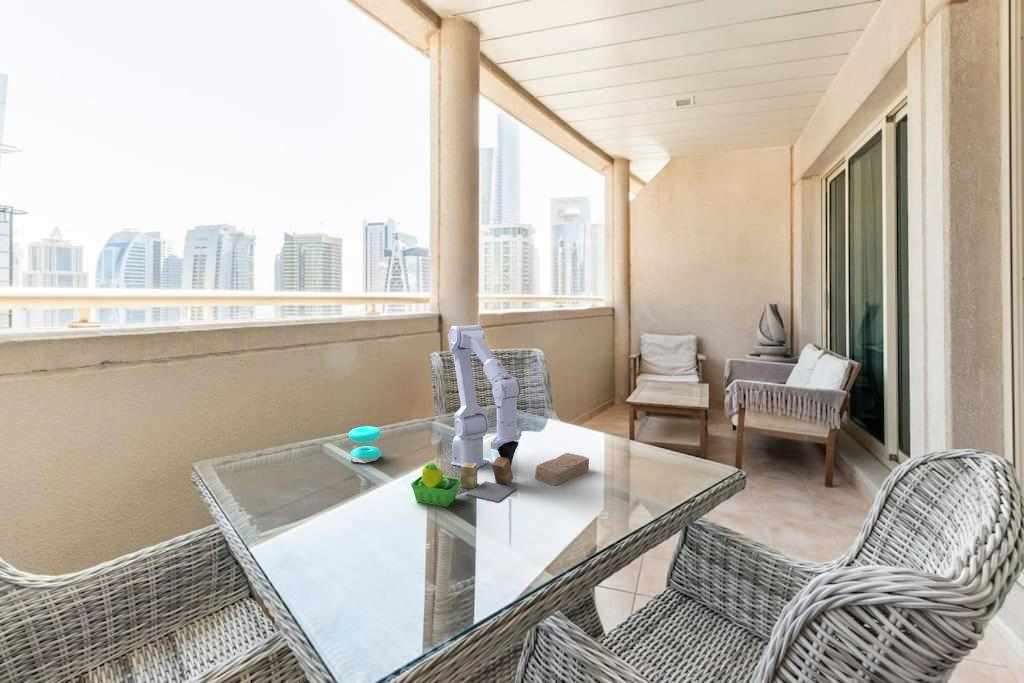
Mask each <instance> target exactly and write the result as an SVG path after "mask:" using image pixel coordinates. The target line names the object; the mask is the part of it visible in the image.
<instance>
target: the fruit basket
mask: <svg viewBox="0 0 1024 683" xmlns="http://www.w3.org/2000/svg"><path fill="white" fill-rule="evenodd" d="M421 472H422V474H421V476H419V477H417V479H415V480H414V481H412V482H411V483H410V486H411V488H412V490H413V494H414V497H415V501H416V502H417V501H418V502H417V503H424V504H428V503H432V505H434V504H435V506H442V507H448V506H449V505H450V504H451V503H453V501H454V500H456V497H457V493H458V490H459V485H461V479H460V478H459V479H458V478H453V477H445V476H444V472H443V470H442V469H441V468H440V467H438V466H436V464H435V463H434V462H428V463H426V464H424V466H423V468H422V470H421Z"/></svg>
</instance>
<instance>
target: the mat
mask: <svg viewBox="0 0 1024 683" xmlns="http://www.w3.org/2000/svg"><path fill="white" fill-rule="evenodd" d="M516 490H517V487H513V486H509V485H508V486H505V485H501V484H496V482H491V481H484V482H482V483H481V484H479V485H478V486H475V487H474V488H473V489H471V490H470V491H468V492H467V493H466V494H465V496H468V497H472V498H476V499H477V498H478V499H481V500H485V501H489V502H494V503H497V504H498V503H500V502H501V501H502V500H504V499H505V498H507V497H508V496H509V495H511V494H512V493H514V492H515V491H516Z"/></svg>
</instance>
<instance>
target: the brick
mask: <svg viewBox="0 0 1024 683" xmlns="http://www.w3.org/2000/svg"><path fill="white" fill-rule="evenodd" d="M589 465H590V458H588V457H586V456H584V455H580V454H574V453H570V452H567V453H563V454H561V455H559V456H557V457H555V458H553V459H549V460H546V461H544V462H542V463H539V464H537V465H535V472H534V473H535V474H534V479H535V480H536V481H538V482H540V483H541V482H542V483H545V484H546V485H549V486H552V487H557V486H560V485H562V484H563V483H565V482H569V481H570V480H573V479H575V478H578V477H579V476H581V475H584V474H585V473H586V472H588V471H589V469H590V468H589V467H590V466H589Z"/></svg>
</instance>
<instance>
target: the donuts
mask: <svg viewBox="0 0 1024 683" xmlns="http://www.w3.org/2000/svg"><path fill="white" fill-rule="evenodd" d="M381 434H382V433H381V430H380V428H378V427H375V426H366V425H365V426H359V427H356V428H355V427H354V428H352V429H351V430H350V431H349V432H348V438H349V440H351V441H352V442H354V443H357V444H366V443H371V442H374V441H376V440H378V439H379V438H380V436H381ZM350 454H351V455H352V456H354V457H357V458H364V459H372V458H377V457H379V456H382V451H381V450H380V449H379V448H378V447H376V446H373V445H372V446H371V445H370V446H369V445H367V446H364V445H363V446H359V447H356V448H354V449H353V450H352V451H351V452H350V453H349V455H350Z"/></svg>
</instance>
